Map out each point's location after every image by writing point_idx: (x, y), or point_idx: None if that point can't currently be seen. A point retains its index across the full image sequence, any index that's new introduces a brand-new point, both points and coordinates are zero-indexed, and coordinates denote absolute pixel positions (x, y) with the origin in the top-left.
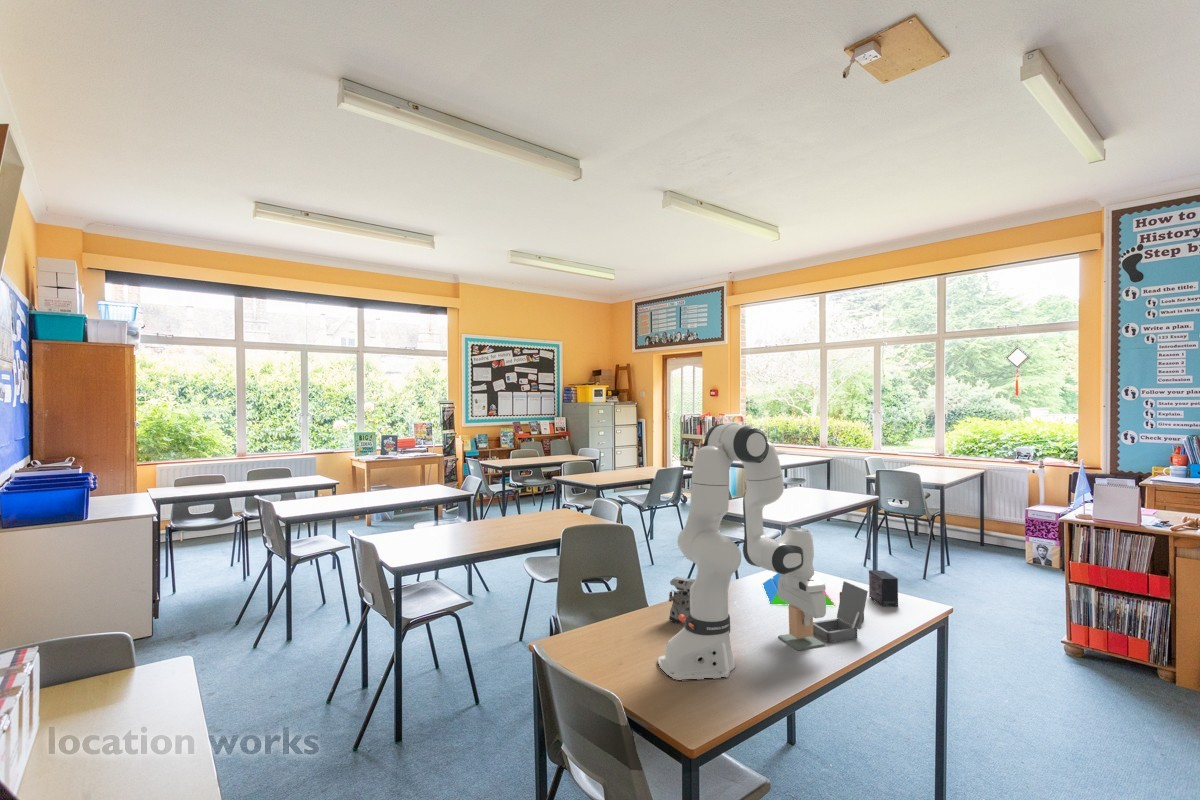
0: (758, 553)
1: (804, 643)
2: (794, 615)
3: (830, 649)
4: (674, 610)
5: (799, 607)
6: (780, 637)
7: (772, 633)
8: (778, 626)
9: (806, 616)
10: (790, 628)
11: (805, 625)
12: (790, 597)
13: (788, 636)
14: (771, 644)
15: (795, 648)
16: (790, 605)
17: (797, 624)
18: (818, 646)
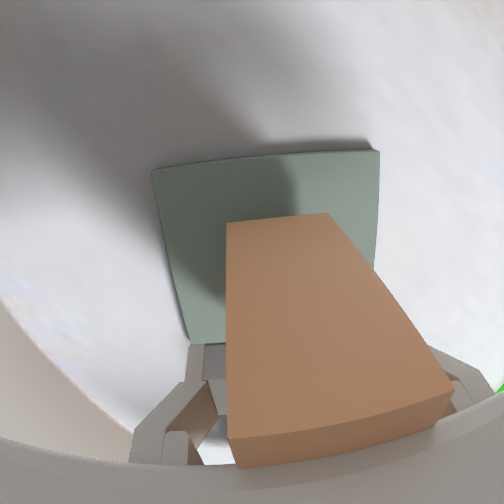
0: None
1: (217, 256)
2: (275, 342)
3: (152, 345)
4: None
5: (233, 494)
6: (353, 151)
7: (431, 152)
8: (476, 237)
9: (140, 427)
10: (324, 233)
11: (191, 346)
12: (495, 497)
13: (346, 211)
14: (287, 43)
15: (173, 167)
16: (435, 410)
17: (227, 292)
18: (184, 312)
